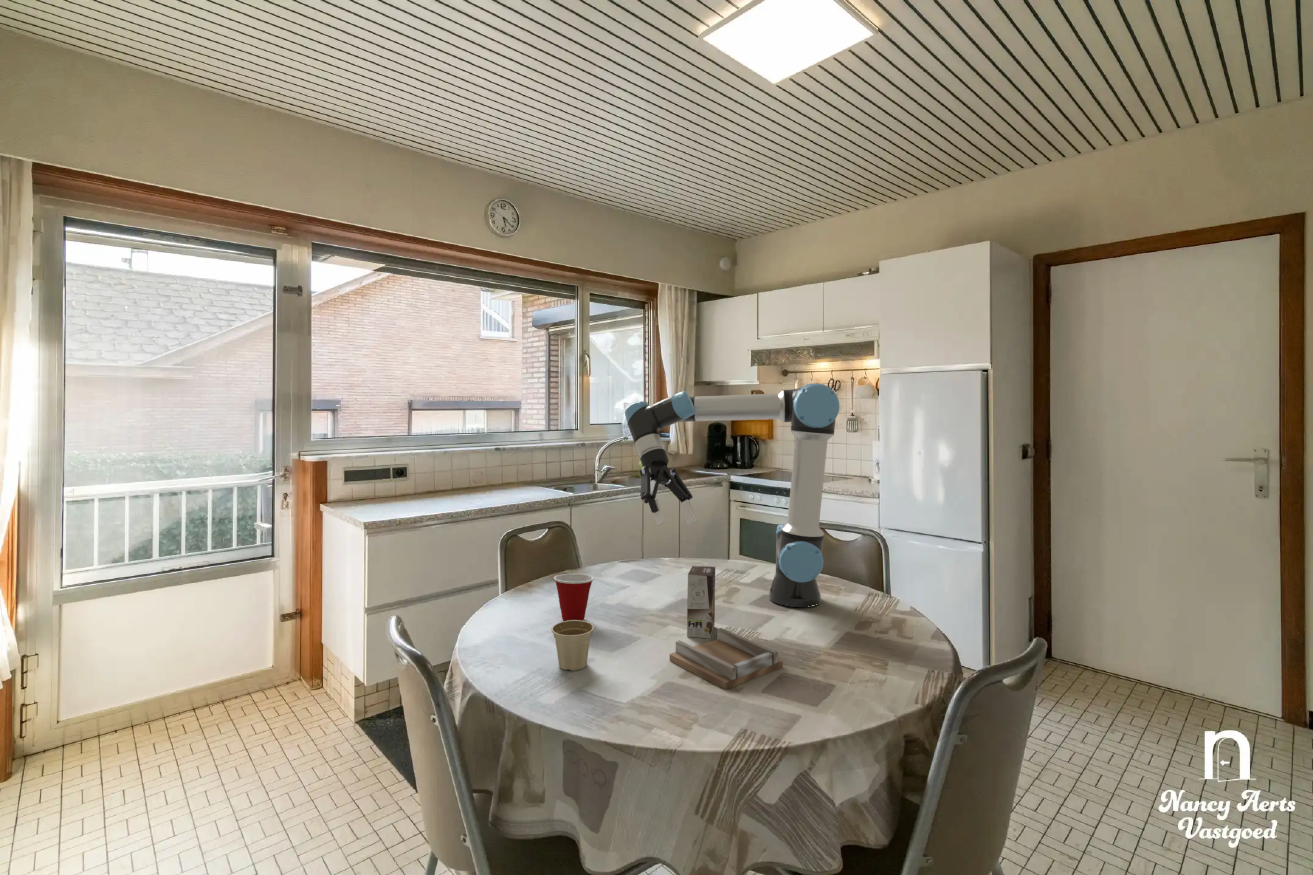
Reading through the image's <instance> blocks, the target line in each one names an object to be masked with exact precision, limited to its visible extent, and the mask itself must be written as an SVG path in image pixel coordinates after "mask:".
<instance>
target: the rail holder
mask: <svg viewBox="0 0 1313 875" xmlns="http://www.w3.org/2000/svg"><path fill="white" fill-rule="evenodd" d="M716 632H717V633H716V639H713V640H710V641H707V642H704V643H700V644H698V645H695V646H693V645H691V644H688V643H686V642H684V641H682V640H680V639H679V640H676V641H675V652H672V653H670V654H669V661H670V662H672V663H673V664H675V665H677V666H679V667H681V668H683V669H685V670H687V671H689V672H690V673H692V674H695V675H696V676H698V677H700V678H702V679H703V680H706V681H708V682H709V683H711V684H714V685H716V686H717V687H719V688H721V689H723V690H729V689H730V688H731V689H732V688H733V687H736V686H739V685H741V684H743V683H747V682H748V681H752V680H754V679H756V678H759V677H761V676H764V675H766V674H769V673H772V672H774V671H777V670H780V669H783V667H784V662H783V659H779V658H778V655H779V654H778V651H777V650H775V649H772V648H770V647H767V646H764V645H763V644H760V643H757V642H756V641H753V640H751V639H748V638H746V637H743V636H741V635H740V634H736V633H734V632H732V631H729V630H727V629H724V628H723V627H718V628H717V629H716Z"/></svg>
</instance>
